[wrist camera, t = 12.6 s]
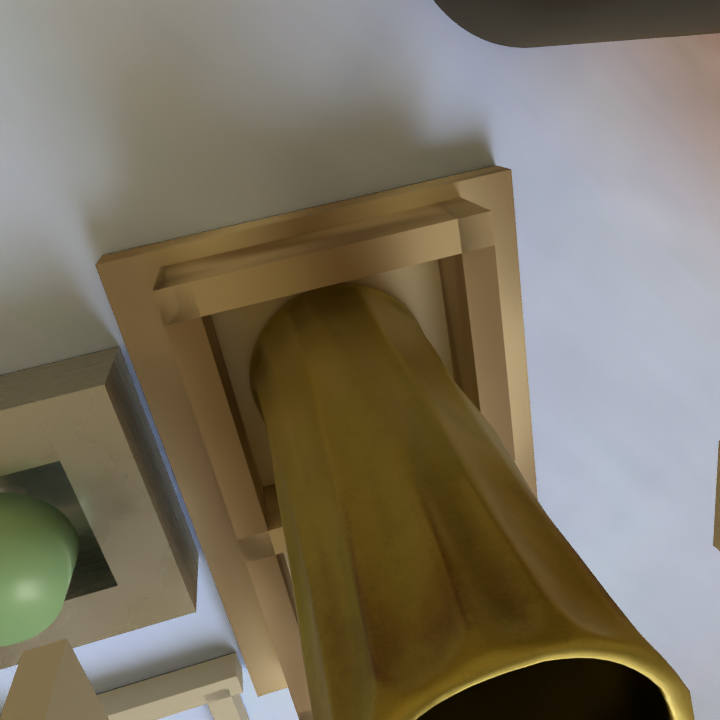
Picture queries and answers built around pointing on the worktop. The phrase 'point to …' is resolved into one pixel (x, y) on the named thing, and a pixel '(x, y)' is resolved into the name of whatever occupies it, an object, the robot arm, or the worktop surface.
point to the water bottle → (581, 20)
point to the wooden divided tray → (246, 321)
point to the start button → (33, 565)
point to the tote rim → (182, 693)
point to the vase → (428, 539)
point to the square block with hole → (98, 496)
